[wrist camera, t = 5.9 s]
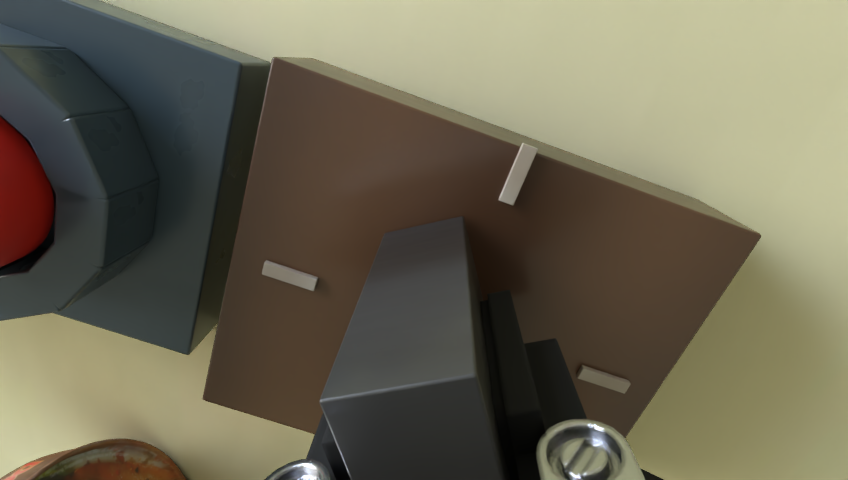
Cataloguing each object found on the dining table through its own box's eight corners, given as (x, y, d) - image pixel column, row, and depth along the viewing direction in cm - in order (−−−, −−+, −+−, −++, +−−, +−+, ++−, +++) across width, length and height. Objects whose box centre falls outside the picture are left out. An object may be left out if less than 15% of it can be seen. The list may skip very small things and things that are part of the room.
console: (243, 344, 16) (198, 406, 13) (311, 53, 13) (269, 50, 10) (553, 443, 17) (574, 521, 14) (701, 196, 14) (770, 233, 11)
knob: (383, 232, 11) (311, 416, 5) (463, 214, 11) (478, 387, 5) (440, 421, 13) (432, 703, 7) (509, 410, 13) (556, 694, 7)
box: (-72, 229, 15) (-239, 283, 12) (-93, -70, 12) (-334, -129, 8) (219, 322, 16) (148, 401, 12) (272, 62, 13) (199, 63, 9)
